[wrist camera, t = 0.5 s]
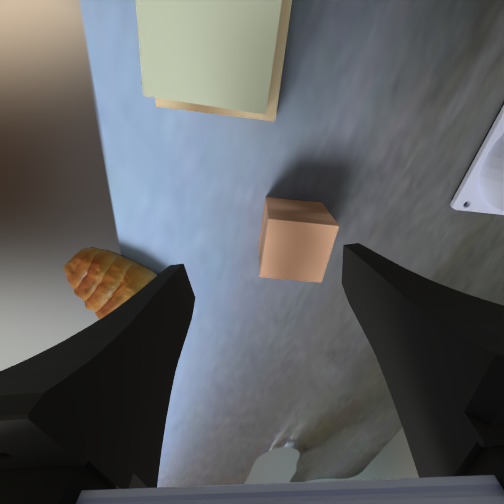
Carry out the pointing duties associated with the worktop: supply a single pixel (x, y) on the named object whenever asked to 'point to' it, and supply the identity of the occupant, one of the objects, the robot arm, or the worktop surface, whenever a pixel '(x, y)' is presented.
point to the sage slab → (208, 51)
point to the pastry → (105, 279)
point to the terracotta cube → (295, 239)
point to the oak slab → (274, 81)
